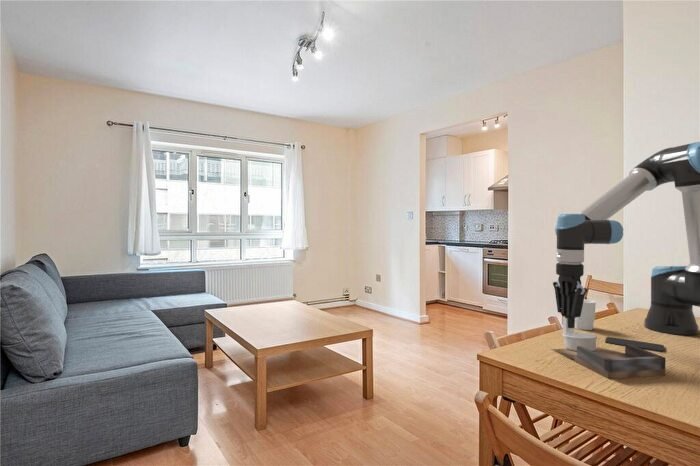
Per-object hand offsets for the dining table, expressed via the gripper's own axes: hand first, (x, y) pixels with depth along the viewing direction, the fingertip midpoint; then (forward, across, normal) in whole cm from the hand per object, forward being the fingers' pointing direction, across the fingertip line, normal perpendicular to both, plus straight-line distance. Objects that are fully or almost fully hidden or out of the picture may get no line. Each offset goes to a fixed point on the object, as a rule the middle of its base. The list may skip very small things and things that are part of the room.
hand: (568, 337), depth 122 cm
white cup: (+3, -18, +19) cm, 26 cm away
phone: (+3, +2, +21) cm, 21 cm away
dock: (+3, +14, 0) cm, 14 cm away
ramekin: (+2, +6, 0) cm, 6 cm away
